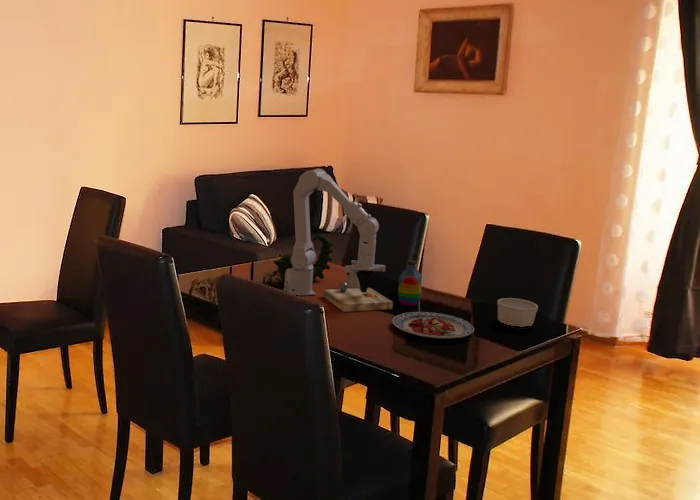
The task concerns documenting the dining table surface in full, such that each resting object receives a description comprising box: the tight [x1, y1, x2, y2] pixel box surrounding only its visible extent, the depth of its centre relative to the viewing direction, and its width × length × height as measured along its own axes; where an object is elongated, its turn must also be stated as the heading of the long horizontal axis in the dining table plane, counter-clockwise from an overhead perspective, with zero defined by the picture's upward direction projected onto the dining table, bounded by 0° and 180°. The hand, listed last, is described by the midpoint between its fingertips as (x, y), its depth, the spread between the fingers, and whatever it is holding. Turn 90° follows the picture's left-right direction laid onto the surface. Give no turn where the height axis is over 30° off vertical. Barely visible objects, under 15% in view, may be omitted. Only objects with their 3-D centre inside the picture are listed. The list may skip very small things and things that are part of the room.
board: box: [322, 287, 394, 313], centre depth 278 cm, size 18×18×2 cm
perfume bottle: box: [397, 259, 422, 290], centre depth 295 cm, size 6×6×12 cm
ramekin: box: [496, 297, 539, 327], centre depth 268 cm, size 13×13×7 cm
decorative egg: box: [397, 276, 423, 307], centre depth 281 cm, size 8×8×10 cm
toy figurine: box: [272, 233, 334, 284], centre depth 298 cm, size 9×19×25 cm
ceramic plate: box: [391, 311, 475, 340], centre depth 254 cm, size 26×26×3 cm
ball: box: [338, 281, 348, 292], centre depth 281 cm, size 3×3×3 cm
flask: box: [344, 259, 360, 289], centre depth 297 cm, size 7×7×10 cm
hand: (363, 291), depth 278 cm, fingers closed
